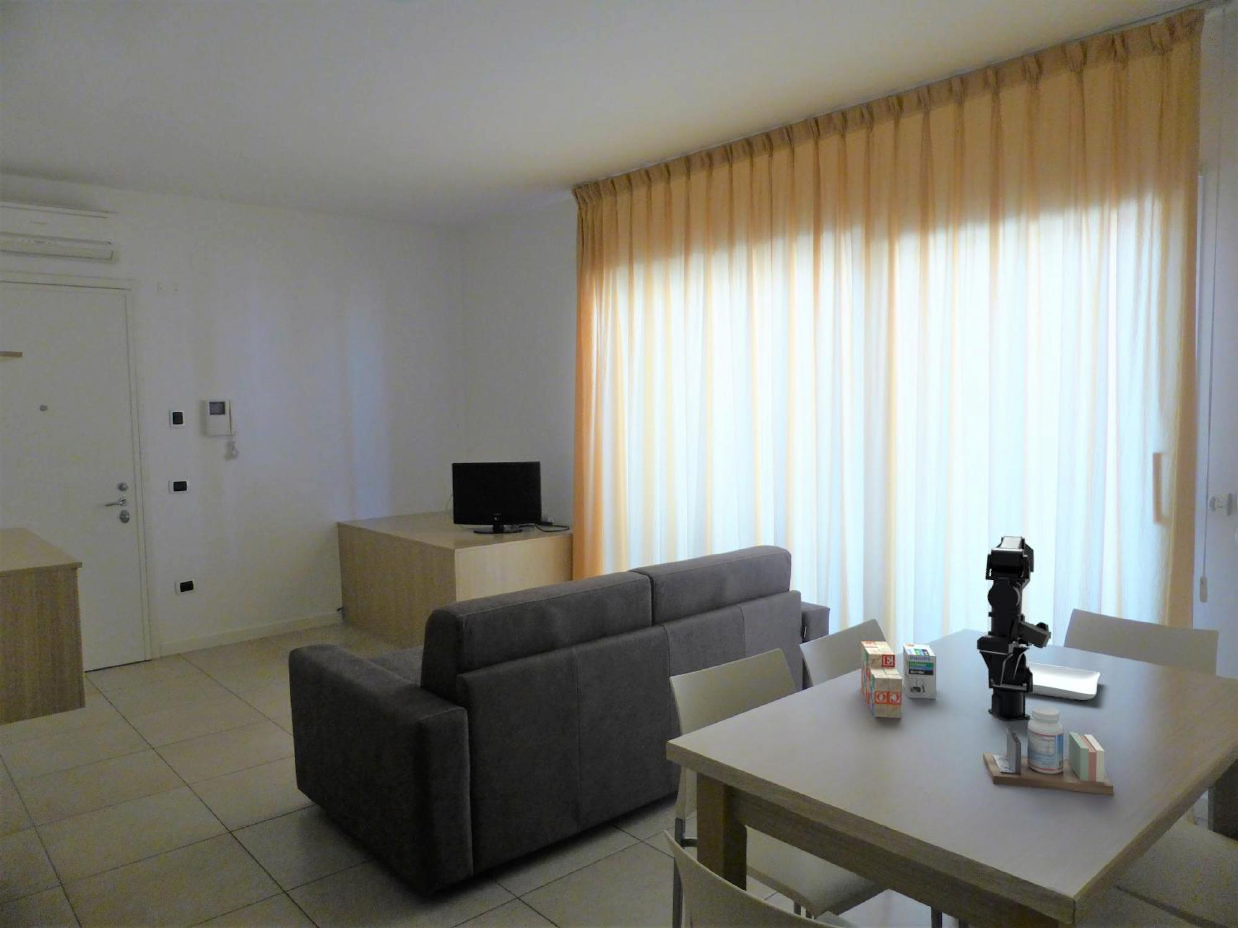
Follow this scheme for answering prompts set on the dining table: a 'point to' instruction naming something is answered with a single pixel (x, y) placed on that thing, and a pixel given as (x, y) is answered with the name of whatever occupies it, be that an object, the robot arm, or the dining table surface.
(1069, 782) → the shelf board
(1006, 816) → the dining table surface
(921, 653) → the light bulb box
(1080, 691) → the salad plate
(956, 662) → the dining table surface
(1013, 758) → the bookend
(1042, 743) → the pill bottle
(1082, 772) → the row of books
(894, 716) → the stack of blocks
